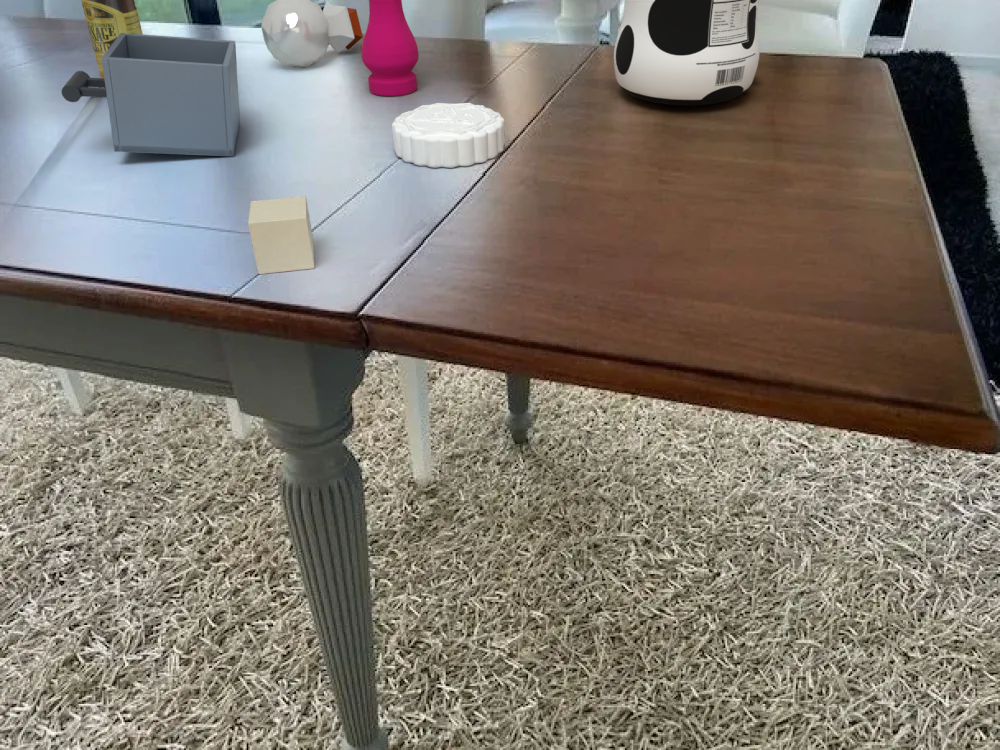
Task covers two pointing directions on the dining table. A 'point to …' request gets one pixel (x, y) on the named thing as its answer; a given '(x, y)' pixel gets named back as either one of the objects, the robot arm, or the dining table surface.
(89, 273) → the dining table surface
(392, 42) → the pepper mill
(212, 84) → the grey drawer with handle
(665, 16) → the milk container
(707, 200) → the dining table surface
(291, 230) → the block
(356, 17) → the potion bottle
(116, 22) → the sauce bottle
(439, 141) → the mooncake
